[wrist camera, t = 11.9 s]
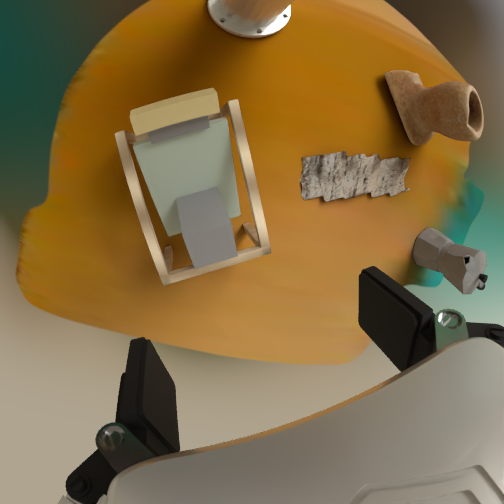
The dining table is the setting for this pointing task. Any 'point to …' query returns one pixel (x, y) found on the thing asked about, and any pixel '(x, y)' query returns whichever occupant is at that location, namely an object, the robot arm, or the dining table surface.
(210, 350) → the dining table surface
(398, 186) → the stone fragment
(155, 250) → the trapdoor frame
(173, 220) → the trapdoor
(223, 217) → the granite block
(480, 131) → the stone cup
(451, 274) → the coffeepot
